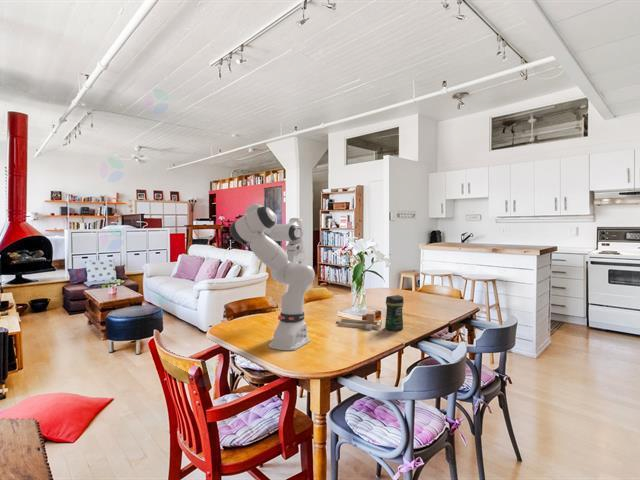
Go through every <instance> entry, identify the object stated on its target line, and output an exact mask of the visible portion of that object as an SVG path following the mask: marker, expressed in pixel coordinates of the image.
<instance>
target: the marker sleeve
mask: <svg viewBox="0 0 640 480" xmlns="http://www.w3.org/2000/svg"><path fill="white" fill-rule="evenodd" d="M366 320H367V324H372V325H375V321H376V311H370V310H369V311H367V312H366Z"/></svg>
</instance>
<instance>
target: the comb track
mask: <svg viewBox="0 0 640 480" xmlns="http://www.w3.org/2000/svg"><path fill="white" fill-rule="evenodd" d="M340 319H341V321H339V322H338V323H337V326H338V327H345V328H357V329H365V330H366V331H372V330H377V331H378V330H380V329H381V327H382V325H383V323H382V322H383V320H381V319H379V320H378V321H377V320H375V325H372V324H367V319H366V320H365V319H353V318H340ZM344 322H350V323H344ZM354 323H361V324H354ZM365 324H366V325H365ZM376 325H377V326H376Z"/></svg>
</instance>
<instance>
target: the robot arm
mask: <svg viewBox="0 0 640 480" xmlns="http://www.w3.org/2000/svg"><path fill="white" fill-rule="evenodd" d="M304 230H305V229H304V222H303V219H302V218H297V217H292V218H289V220H288V222H287V223H278V216H277V214H276V213H275V212H274V211H273V210H272V209H271V208H270V207H268V206H265V205H262V204H259V203H252V204H250V205H248V206H247V207H246V209H245V212H244V215H242V216H241V217H240V218H238V219H237V220H235V221H233V222H232V223H231V224H230V226H229V233H230V235H231V237H232V238H233V240H234V241H236V242H238V243H240V244H243V245H245V246H249V248H250V251H252V253H253V254H254V256H255V257H256V258H257V259H259V261H260V262H262V263H263V264H264V265H265V266H266V267H267V268H269V270H270V276H271V278H272V279H273V281H275V282H278V283H280V284H284V285H288V288H287V292H285V293H283V295H282V296H281V298H280V299H281V300H280V302H281V303H280V304H281V305H280V306H281V307H280V308H281V309H280V314H279V315H278V317H277V320H278V321H279V322H278V324H277V326H276V329H275V330H274V333H273V338H272V340H271V341H270V342H269V344H268V348H270V349H273V350H279V351H280V350H281V351H296V350H297V349H299V348H301V347H303V346H305V345H307V344H308V343H309V342H311V338H310V337H308V325H307V322H306V321H305V311H304V303H305V301H304V299H305V293H306V291H307V290H308V287H310V285H312V283H314V281H315V277H316V273H315V269H314V267H312V266H310V265H308V264H305V263H303V261H304V260H305V259H306V251H305V247H304V246H305V240H304V234H305V233H304V232H305V231H304ZM278 242H288V243H287V245H286V246H285V249H284V248H283V247H282V246H281V245H279V243H278Z"/></svg>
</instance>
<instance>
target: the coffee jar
mask: <svg viewBox="0 0 640 480" xmlns="http://www.w3.org/2000/svg"><path fill="white" fill-rule="evenodd" d="M404 303H405V302H404V296H403V295H398V294H397V295H390V296H386V299H385V305H386V313H385V322H384V327H385V329H387V330H389V331H394V332H395V331H399V330H403V328H404V318H403V307H404Z"/></svg>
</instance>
